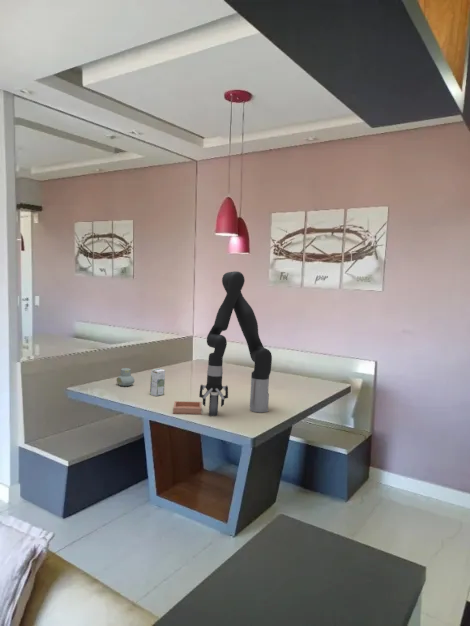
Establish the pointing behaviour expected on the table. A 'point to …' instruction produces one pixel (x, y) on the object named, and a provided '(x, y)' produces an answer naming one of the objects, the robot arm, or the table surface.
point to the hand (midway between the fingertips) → (213, 405)
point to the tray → (187, 407)
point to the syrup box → (157, 382)
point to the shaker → (213, 404)
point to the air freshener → (125, 377)
